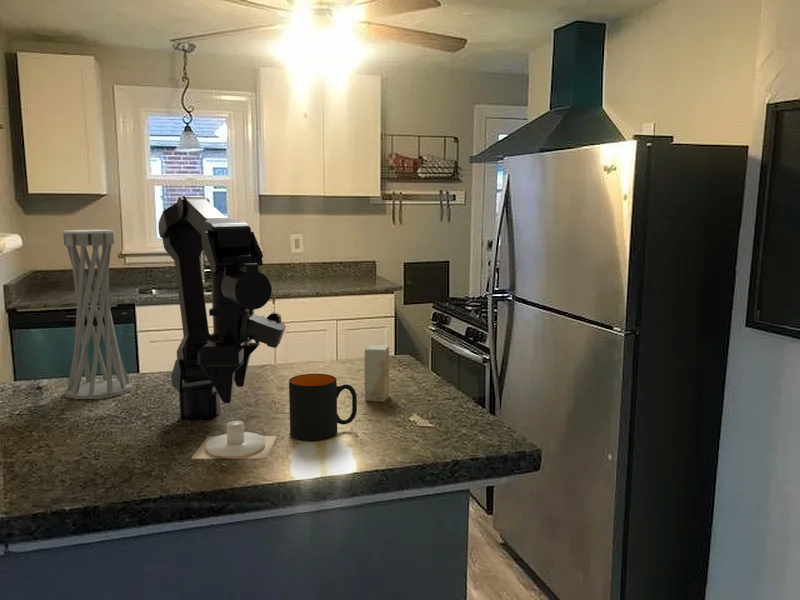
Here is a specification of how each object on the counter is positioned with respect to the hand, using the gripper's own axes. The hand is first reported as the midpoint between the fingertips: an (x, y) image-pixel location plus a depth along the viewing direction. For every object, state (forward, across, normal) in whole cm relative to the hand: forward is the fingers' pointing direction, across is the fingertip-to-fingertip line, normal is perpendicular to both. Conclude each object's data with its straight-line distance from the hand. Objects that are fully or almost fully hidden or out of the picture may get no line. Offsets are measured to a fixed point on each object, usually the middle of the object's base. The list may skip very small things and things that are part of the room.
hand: (233, 394), depth 107 cm
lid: (+9, 0, 0) cm, 9 cm away
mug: (+10, +7, -14) cm, 19 cm away
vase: (+10, +35, +38) cm, 52 cm away
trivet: (+10, 0, 0) cm, 10 cm away
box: (+10, +29, -23) cm, 38 cm away
